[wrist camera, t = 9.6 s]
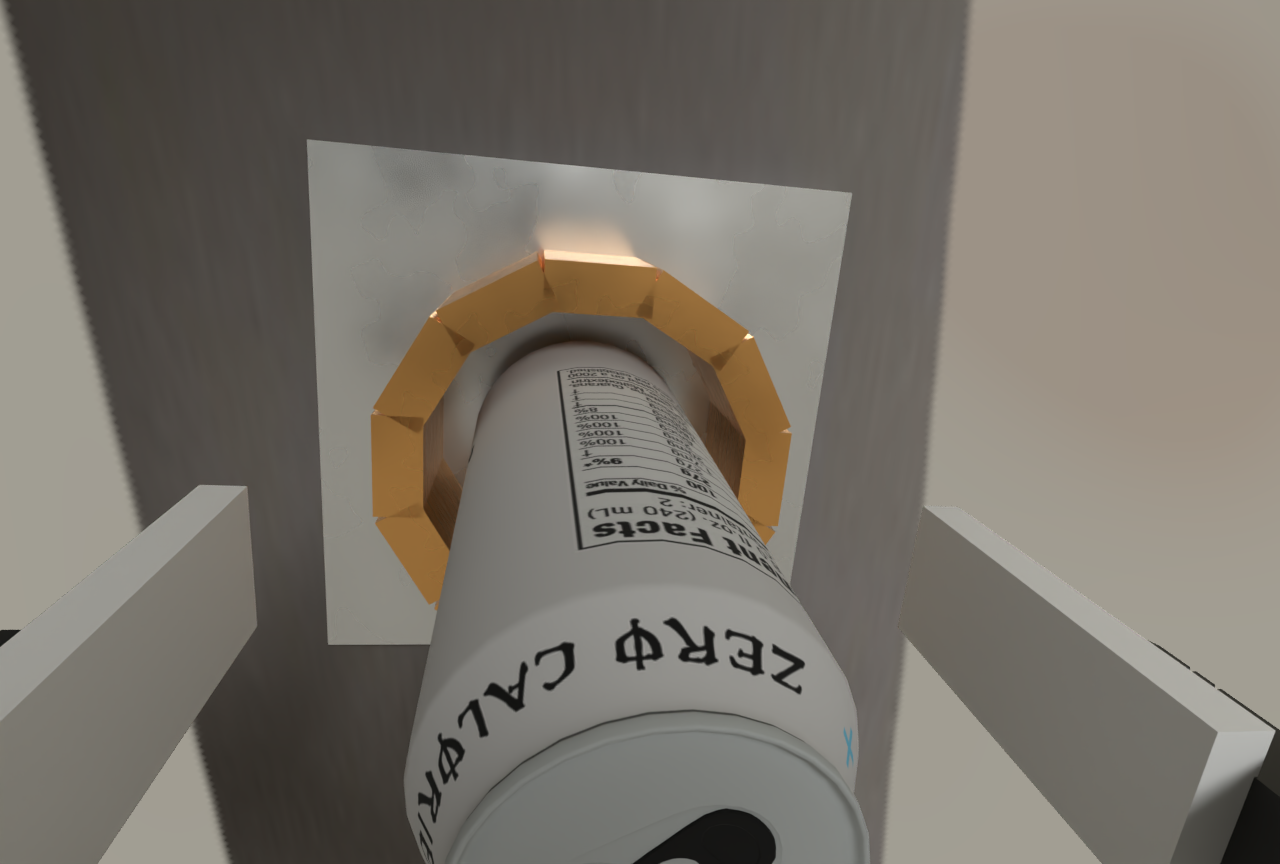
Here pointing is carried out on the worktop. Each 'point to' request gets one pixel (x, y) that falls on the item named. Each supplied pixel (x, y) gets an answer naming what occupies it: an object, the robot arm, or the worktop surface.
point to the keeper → (544, 338)
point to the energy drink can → (620, 648)
